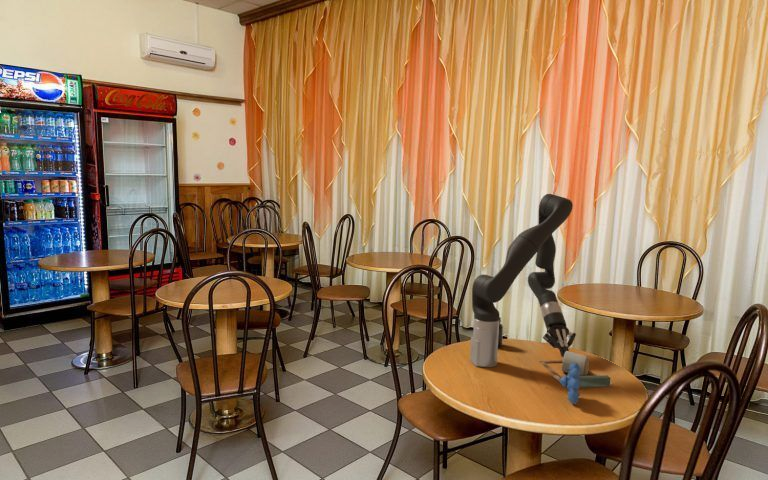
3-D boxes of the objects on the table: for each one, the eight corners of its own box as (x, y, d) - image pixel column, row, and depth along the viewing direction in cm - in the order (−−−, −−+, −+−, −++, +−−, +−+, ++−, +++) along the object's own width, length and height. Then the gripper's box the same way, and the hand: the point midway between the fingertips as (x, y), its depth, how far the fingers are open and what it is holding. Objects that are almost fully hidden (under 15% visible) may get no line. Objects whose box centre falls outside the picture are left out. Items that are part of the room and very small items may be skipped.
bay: (536, 362, 186) (536, 354, 185) (578, 360, 188) (578, 353, 188) (565, 387, 163) (566, 379, 163) (613, 386, 165) (614, 377, 165)
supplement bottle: (504, 344, 205) (505, 316, 203) (498, 349, 199) (500, 320, 198) (488, 341, 208) (490, 314, 207) (482, 346, 203) (484, 317, 201)
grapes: (558, 391, 160) (560, 355, 159) (580, 394, 158) (582, 358, 157) (558, 406, 150) (560, 368, 148) (581, 410, 147) (584, 372, 146)
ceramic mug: (585, 379, 170) (587, 358, 169) (561, 374, 174) (562, 353, 173) (590, 370, 179) (591, 350, 178) (566, 365, 183) (568, 345, 182)
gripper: (540, 311, 187) (553, 353, 177) (572, 310, 189) (587, 352, 178) (533, 321, 193) (545, 362, 182) (565, 320, 195) (579, 361, 184)
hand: (566, 357), depth 180 cm, fingers closed
